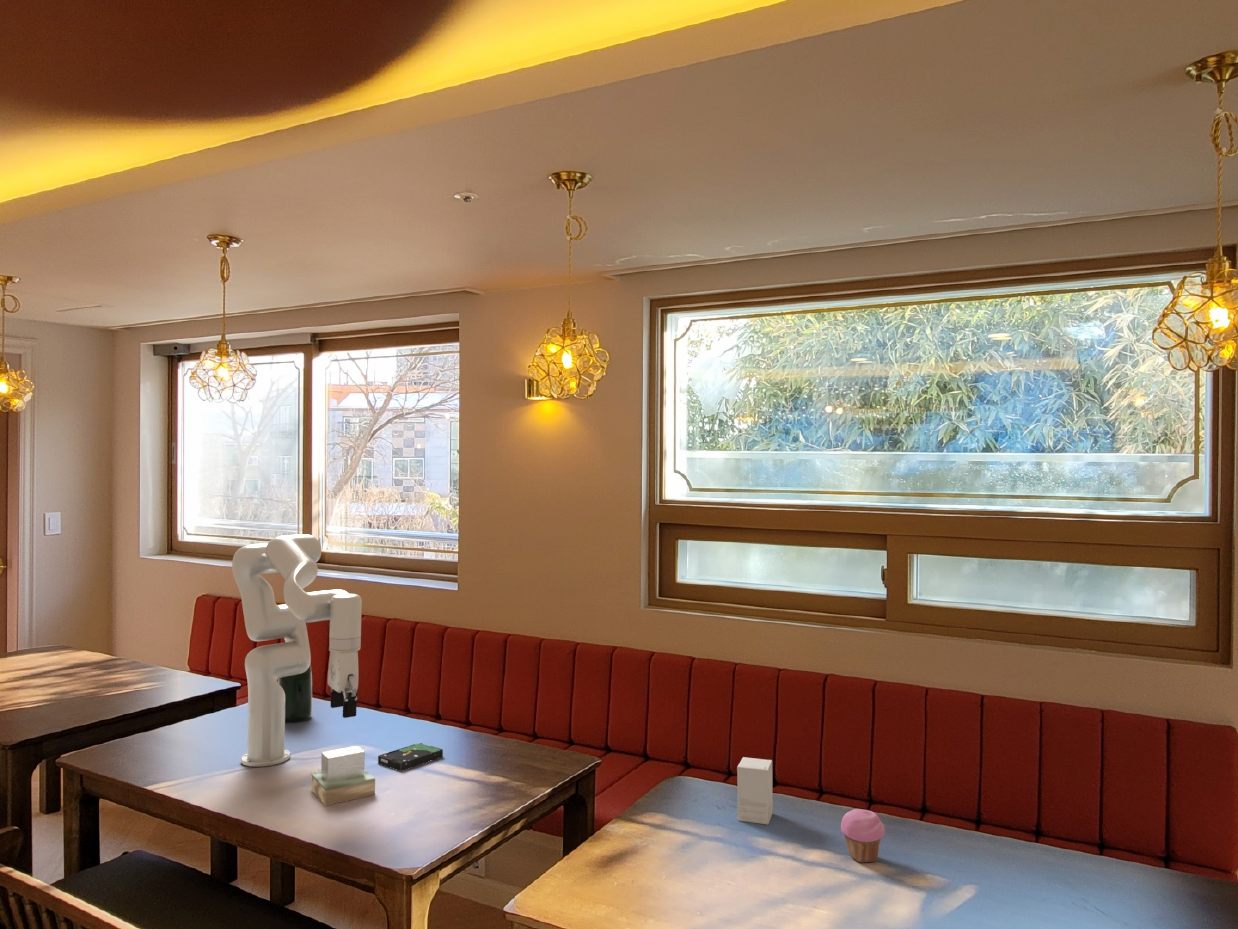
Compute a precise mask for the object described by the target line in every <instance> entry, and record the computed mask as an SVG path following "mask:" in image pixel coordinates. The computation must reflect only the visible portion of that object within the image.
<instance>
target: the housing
mask: <svg viewBox="0 0 1238 929" xmlns="http://www.w3.org/2000/svg"><path fill="white" fill-rule="evenodd" d="M365 755H366V752H365V750H363V749H362V748H361V747H360V746H358V745H355V746H348V747H343V748H337V749H331V750H327V751H322V752H321V767H320V768H321V770H320V772H321V777H322V778H323V779H324V780H325V781H326V782H327V783H331V782H336V781H341V780H345V779H350V778H355V777H360V776H364V769H365V766H366V765H365V761H366V760H365V759H366V758H365V757H366V756H365Z"/></svg>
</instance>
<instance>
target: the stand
mask: <svg viewBox="0 0 1238 929" xmlns="http://www.w3.org/2000/svg"><path fill="white" fill-rule="evenodd" d="M311 792H313V794H315V795H316V797H319V798H320V799H321V800H320V799H319V798H318V799H319V800H320V801H321V802H322V803H323V804H324V805H325V806H329V804H330V805H333V804H332V803H334V804H337V803H342V802H347V801H352V800H356V799H361V798H366V797H370V796H373V795H376V778H375V776H373V775H372V773H370V772H368V771H367V770H366V769H365V768H364V776H360V777H355V778H350V779H345V780H341V781H336V782H331V783H327V782H326V781H325V780H324V779H323V778H322V777H321V771H319V772H316V773H315V772H314V773H311Z"/></svg>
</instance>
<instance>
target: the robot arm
mask: <svg viewBox="0 0 1238 929" xmlns="http://www.w3.org/2000/svg"><path fill="white" fill-rule="evenodd" d="M321 556H322V545H321V542H320V540H318V539H317V537H315V536H314V535H312V534H290V535H280V536H277V537H274V538H272V539H270V540H269V541H268V542H267V543H253V544H248V545H244V546H242V547H240V548H238V549H236V551H235V553H234V555H233V558H232V564H231V569H232V575H233V579H234V581H235V583H236V586H237V588H238V591H239V594H240V598H241V605H242V611H243V617H244V618H243V619H244V620H243V621H244V626H245V630H246V635H247V637H248V638H249V640H251V641H253V642H263V641H264V642H265V641H266V642H267V641H272V640H278V639H284V642H281V643H280V642H279V643H273V644H272V643H271V644H267V645H266V644H265V645H261V646H258V647H255V648H253V649H252V650H250V651H249V652H248V653H247V654H246V655H245V659H244V669H245V674H246V679H247V692H248V694H247V695H248V696H247V697H248V699H247V701H248V703H247V707H248V708H247V749H246V752H247V753H245V754H243V755H242V756H241V757H240V760H241V761H240V762H241V765H243V766H246V767H251V768H252V767H255V768H258V767H259V768H260V767H261V768H262V767H269V766H275V765H278V764H281V763H284V762H286V761H288V760H289V759H290V758H291V751H289V750H288V749H285V746H286V745H285V744H286V742H285V741H286V740H285V737H286V736H285V735H286V733H285V732H286V731H285V730H286V722H285V692H284V690H283V688H282V687H281V686H280V685H279V683H278V682H279V681H278V680H279V678H282V677H287V676H292V675H297V674H301V673H303V672H305V671H306V670H307V669H308V668H309V666H310V664H311V659H312V657H311V655H312V654H311V647H310V642H309V641H310V640H309V636H308V629H307V623H315V622H322V621H329V633H328V634H329V641H328V651H329V660H328V671H327V685H328V687H330V708H331V709H335V708H342V718H343V719H347V718H354V717H356V716H357V707H358V706H357V704H358V703H357V700H358V689H359V654H358V651H360V650H361V647H362V646H361V644H362V643H361V642H362V640H361V638H362V610H363V609H362V604H363V601H362V597H361V595H359V594H357V593H349V592H348V591H346V590H344V589H338V588H337V589H336V588H334V589H329V590H327V589H326V590H325V589H324V590H319V591H318V590H317V591H310V592H307V591H305V590H304V589H305V588H306V587H308V586H309V585H311V584H312V583H313V582H314V581H315V579H316V578H317V575H318V572H319V568H318V565H317V562H319V560H320V559H321ZM273 573H274V574H277V573H279V574H280V576H281V577H282V578H283V579H284V580H285V582H284V585H283V590H282V591H283V599H284V603H285V604H277V603H276V599H275V593H274V588H273V587H272V585H271V584H270V583H269V581H267V579H266V578H264V577H263V576H262V575H263V574H273Z"/></svg>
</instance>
